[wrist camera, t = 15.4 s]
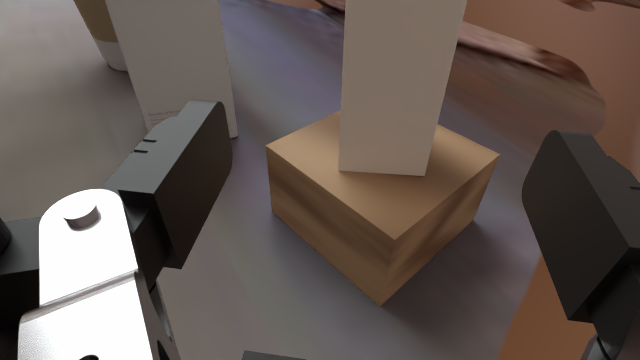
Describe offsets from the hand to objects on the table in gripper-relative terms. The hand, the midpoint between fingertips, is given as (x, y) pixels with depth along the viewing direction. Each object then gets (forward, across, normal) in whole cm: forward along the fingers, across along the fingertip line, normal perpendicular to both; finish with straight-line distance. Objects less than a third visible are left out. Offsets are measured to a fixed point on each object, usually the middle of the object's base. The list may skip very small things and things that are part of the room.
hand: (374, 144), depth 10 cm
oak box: (+11, -1, +14) cm, 18 cm away
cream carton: (+11, -1, +8) cm, 13 cm away
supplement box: (+20, +16, +14) cm, 29 cm away
